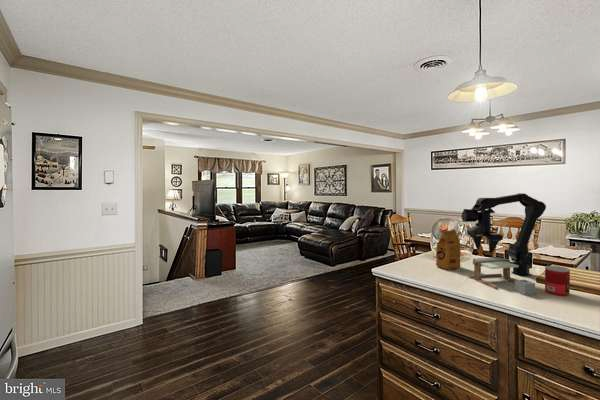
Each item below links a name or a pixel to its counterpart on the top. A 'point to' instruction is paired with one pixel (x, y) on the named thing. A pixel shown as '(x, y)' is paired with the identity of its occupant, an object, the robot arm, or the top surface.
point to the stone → (524, 287)
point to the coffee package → (448, 250)
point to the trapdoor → (495, 263)
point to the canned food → (557, 280)
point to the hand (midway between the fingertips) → (484, 250)
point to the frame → (478, 276)
